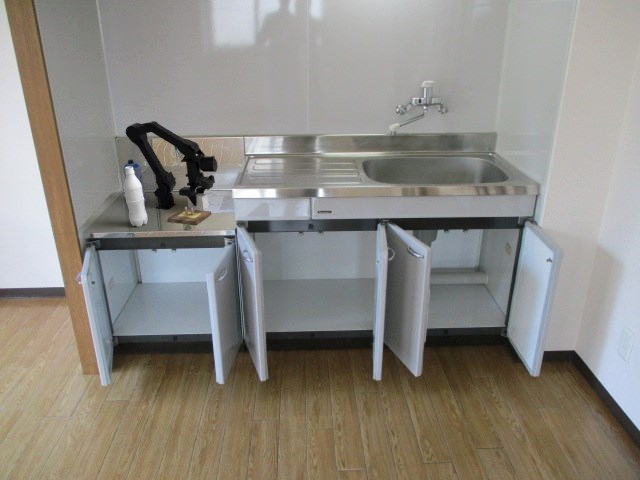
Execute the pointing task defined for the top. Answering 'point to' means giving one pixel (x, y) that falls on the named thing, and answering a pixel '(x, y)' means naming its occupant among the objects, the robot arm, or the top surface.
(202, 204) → the block
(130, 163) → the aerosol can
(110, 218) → the top surface
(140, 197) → the water bottle
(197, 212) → the board
